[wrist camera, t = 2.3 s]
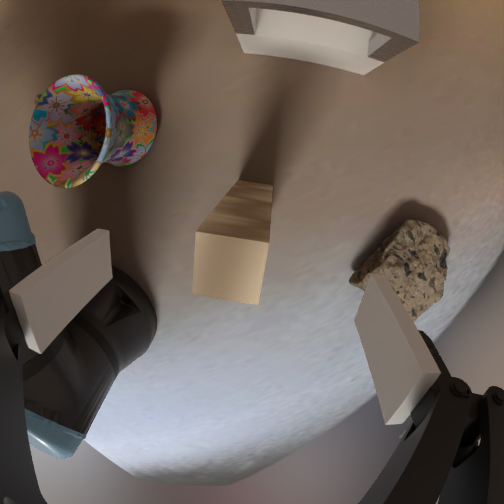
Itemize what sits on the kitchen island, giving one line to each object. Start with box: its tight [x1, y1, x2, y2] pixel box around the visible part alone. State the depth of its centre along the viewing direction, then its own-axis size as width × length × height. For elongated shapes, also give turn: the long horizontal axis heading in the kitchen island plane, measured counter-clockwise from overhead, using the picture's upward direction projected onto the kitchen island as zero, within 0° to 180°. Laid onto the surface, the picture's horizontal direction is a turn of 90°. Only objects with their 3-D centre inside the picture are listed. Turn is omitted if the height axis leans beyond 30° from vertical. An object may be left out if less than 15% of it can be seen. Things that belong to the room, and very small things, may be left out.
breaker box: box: [236, 8, 384, 75], centre depth 18 cm, size 12×12×6 cm
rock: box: [349, 220, 450, 322], centre depth 28 cm, size 11×12×4 cm
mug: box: [29, 74, 157, 188], centre depth 22 cm, size 12×9×11 cm
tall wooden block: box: [192, 180, 273, 305], centre depth 22 cm, size 4×4×16 cm
